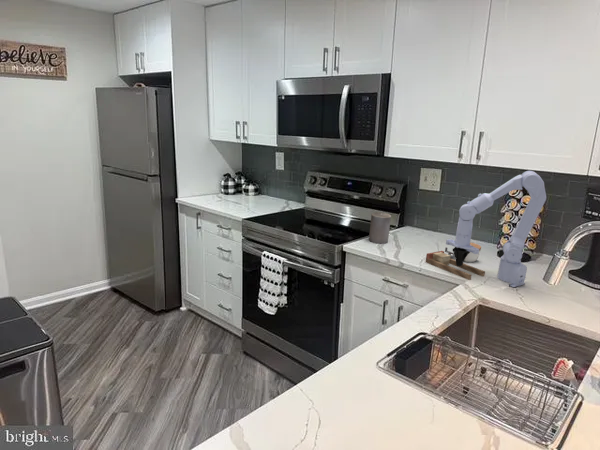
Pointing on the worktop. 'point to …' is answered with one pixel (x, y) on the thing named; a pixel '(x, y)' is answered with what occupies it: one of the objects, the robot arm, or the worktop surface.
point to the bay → (452, 270)
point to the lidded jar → (471, 256)
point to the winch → (450, 254)
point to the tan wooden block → (442, 258)
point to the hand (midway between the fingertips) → (459, 265)
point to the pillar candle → (379, 228)
